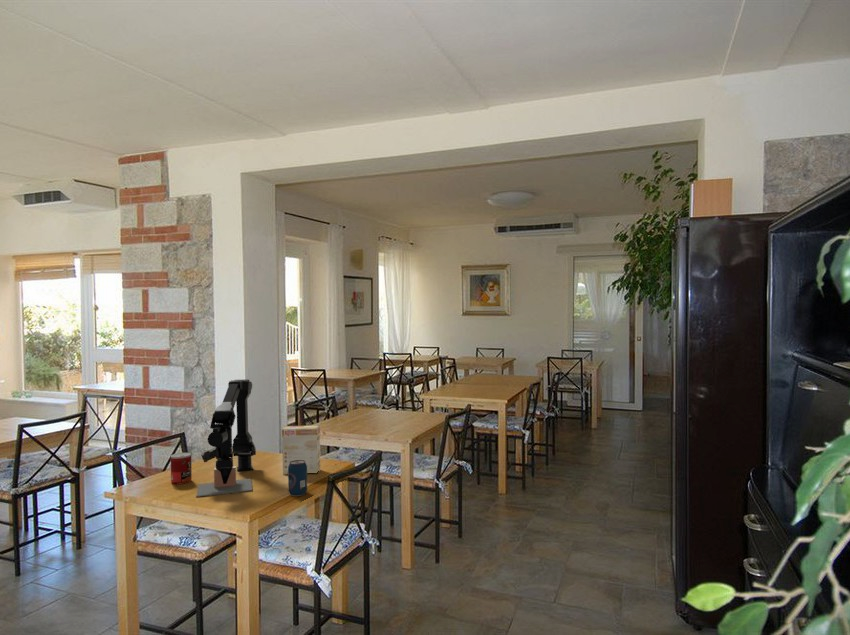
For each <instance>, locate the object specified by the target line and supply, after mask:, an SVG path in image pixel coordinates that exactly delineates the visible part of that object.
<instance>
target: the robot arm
mask: <svg viewBox="0 0 850 635" xmlns="http://www.w3.org/2000/svg"><path fill="white" fill-rule="evenodd" d="M227 385H228V386H227V390H226V393H225V395H224V397H223V399H222V400H223V401H222V403H221V404H220V405H217V406H216V408H215V410H214V412H213V413H212V418H211V423H210V426H209V429H211V430H212V432H210V433H209V434H208V436H207V443H208V444H209V446H211V447H212V448H210V449H208V450H205V451H203V452H202V453H201V454H200V456H201V459H202V460H203V463H207V462H209V461H210V460H213V459H215V460H216V461H215V468H216V469H217V470H219V471H220V472H221V476H222V480H223V484H226V483H227V481H228V478H229V475H230V473H231V470H232V468H233V466H234V459H233V458H234V457H237V466H236V472H243V471H252V470H253V465H252V457H253V456H256V454H257V449H256V445H255V443H254V441H253V436H252V435H251V434H250V432H249V414H248V412H249V410H248V399H249V397H250V395H251V393H252V389H253V383H252V381H250V379H234V380H232V379H231V380H228V384H227ZM235 406H236V413H235V410H234V409H235ZM235 419H236V435H235V436H234V438H233V430H232V428H233V426H234V424H235Z"/></svg>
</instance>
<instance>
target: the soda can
mask: <svg viewBox="0 0 850 635" xmlns="http://www.w3.org/2000/svg"><path fill="white" fill-rule="evenodd" d="M287 475H288V477H287V480H288V481H287V482H288V483H287V484H288V489H287V490H288V493H289V495H290V496H291V497H292V496H293V497H301V496H304V495H305V494H307V491H308V474H307V465H306V463H305V461H304V460H295V461H291V462H290V464H289V466H288V474H287Z"/></svg>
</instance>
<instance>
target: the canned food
mask: <svg viewBox="0 0 850 635" xmlns="http://www.w3.org/2000/svg"><path fill="white" fill-rule="evenodd" d="M192 479H193V478H192V454H191V452H178V453H177V452H176V453H173V454H171V455H170V482H171V484H173V483H184V484H186V483H185V482H188V483H190V482H191V481H192ZM189 481H190V482H189Z"/></svg>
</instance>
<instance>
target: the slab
mask: <svg viewBox="0 0 850 635" xmlns="http://www.w3.org/2000/svg"><path fill="white" fill-rule="evenodd" d="M236 475H237V466H236V465H233V468H232V470H231V473H230V475H229V478H228V481H227V483H226V484H223V480H222V476H221V472H220V471H219V470H217V469H216V467H214V468H213V479H214V482H213V483H214V488H215V487H224V486H234V485H236V480H237V477H236Z"/></svg>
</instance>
